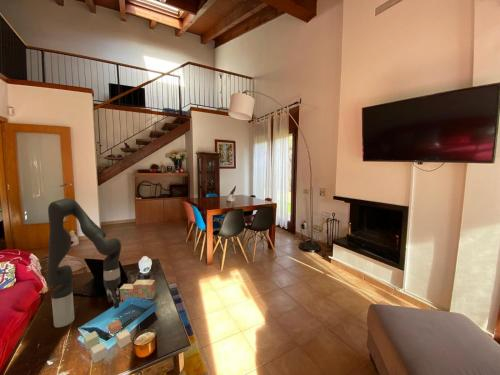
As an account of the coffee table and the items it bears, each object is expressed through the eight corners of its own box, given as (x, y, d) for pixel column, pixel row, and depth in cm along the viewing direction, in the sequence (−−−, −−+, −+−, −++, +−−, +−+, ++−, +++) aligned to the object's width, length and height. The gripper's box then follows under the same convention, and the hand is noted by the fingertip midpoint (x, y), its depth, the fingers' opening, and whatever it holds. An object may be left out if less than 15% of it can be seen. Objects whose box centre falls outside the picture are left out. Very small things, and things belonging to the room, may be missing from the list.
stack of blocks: (119, 301, 148) (118, 284, 147) (124, 296, 154) (123, 279, 153) (151, 301, 149) (151, 284, 148) (155, 296, 155) (155, 279, 154)
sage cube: (84, 345, 113) (83, 336, 112) (95, 339, 117) (95, 330, 116) (87, 350, 110) (86, 341, 109) (99, 344, 114) (98, 335, 113)
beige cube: (91, 357, 106) (90, 348, 105) (103, 350, 110) (102, 341, 109) (94, 363, 103) (94, 353, 102) (106, 356, 107) (106, 347, 106)
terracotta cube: (108, 332, 121) (108, 324, 121) (118, 327, 125) (118, 319, 125) (112, 337, 118) (111, 328, 118) (122, 332, 122) (121, 323, 121)
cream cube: (116, 343, 114) (115, 334, 114) (126, 337, 118) (126, 329, 118) (120, 348, 111) (119, 339, 111) (130, 342, 115) (130, 333, 115)
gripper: (99, 274, 120) (101, 302, 121) (108, 283, 111) (110, 313, 112) (114, 269, 125) (116, 296, 127) (124, 277, 116) (126, 306, 118)
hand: (113, 304), depth 120 cm, fingers open, 8 cm apart
